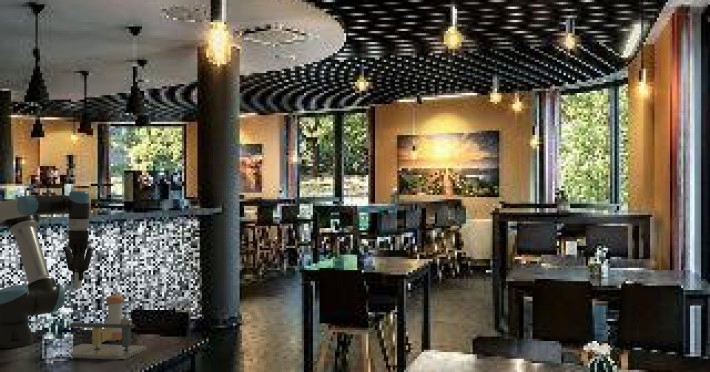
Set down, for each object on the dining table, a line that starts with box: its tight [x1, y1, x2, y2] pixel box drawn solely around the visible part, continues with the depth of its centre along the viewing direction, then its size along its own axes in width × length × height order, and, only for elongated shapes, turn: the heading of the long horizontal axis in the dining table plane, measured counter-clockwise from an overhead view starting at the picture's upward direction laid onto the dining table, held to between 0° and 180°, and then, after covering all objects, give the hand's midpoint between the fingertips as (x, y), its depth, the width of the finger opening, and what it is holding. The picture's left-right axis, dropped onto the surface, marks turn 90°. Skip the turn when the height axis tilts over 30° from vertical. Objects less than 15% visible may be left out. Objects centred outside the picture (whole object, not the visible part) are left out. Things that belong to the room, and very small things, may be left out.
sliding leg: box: [91, 327, 112, 348], centre depth 260 cm, size 3×9×8 cm, turn 169°
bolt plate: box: [71, 343, 148, 361], centre depth 256 cm, size 28×16×2 cm, turn 79°
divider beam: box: [69, 317, 136, 349], centre depth 256 cm, size 26×4×11 cm, turn 79°
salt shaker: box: [105, 292, 125, 342], centre depth 281 cm, size 7×7×19 cm
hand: (78, 288), depth 269 cm, fingers closed
